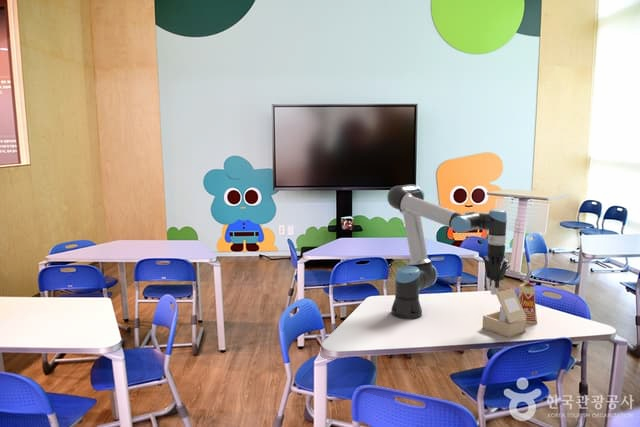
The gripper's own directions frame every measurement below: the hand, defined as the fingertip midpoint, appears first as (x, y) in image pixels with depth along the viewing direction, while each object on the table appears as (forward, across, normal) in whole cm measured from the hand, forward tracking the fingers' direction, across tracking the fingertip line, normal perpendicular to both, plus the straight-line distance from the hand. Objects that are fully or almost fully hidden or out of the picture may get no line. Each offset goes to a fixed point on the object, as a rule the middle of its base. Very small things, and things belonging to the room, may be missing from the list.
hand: (494, 294), depth 224 cm
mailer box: (+16, +6, 0) cm, 17 cm away
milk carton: (+16, +3, +21) cm, 27 cm away
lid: (+3, +9, 0) cm, 9 cm away
